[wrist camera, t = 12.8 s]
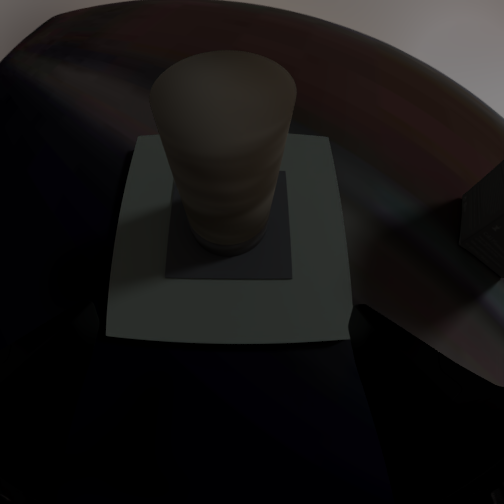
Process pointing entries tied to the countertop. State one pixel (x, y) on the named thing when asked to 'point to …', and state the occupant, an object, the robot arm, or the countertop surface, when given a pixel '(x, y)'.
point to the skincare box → (485, 220)
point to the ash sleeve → (225, 142)
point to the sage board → (232, 260)
